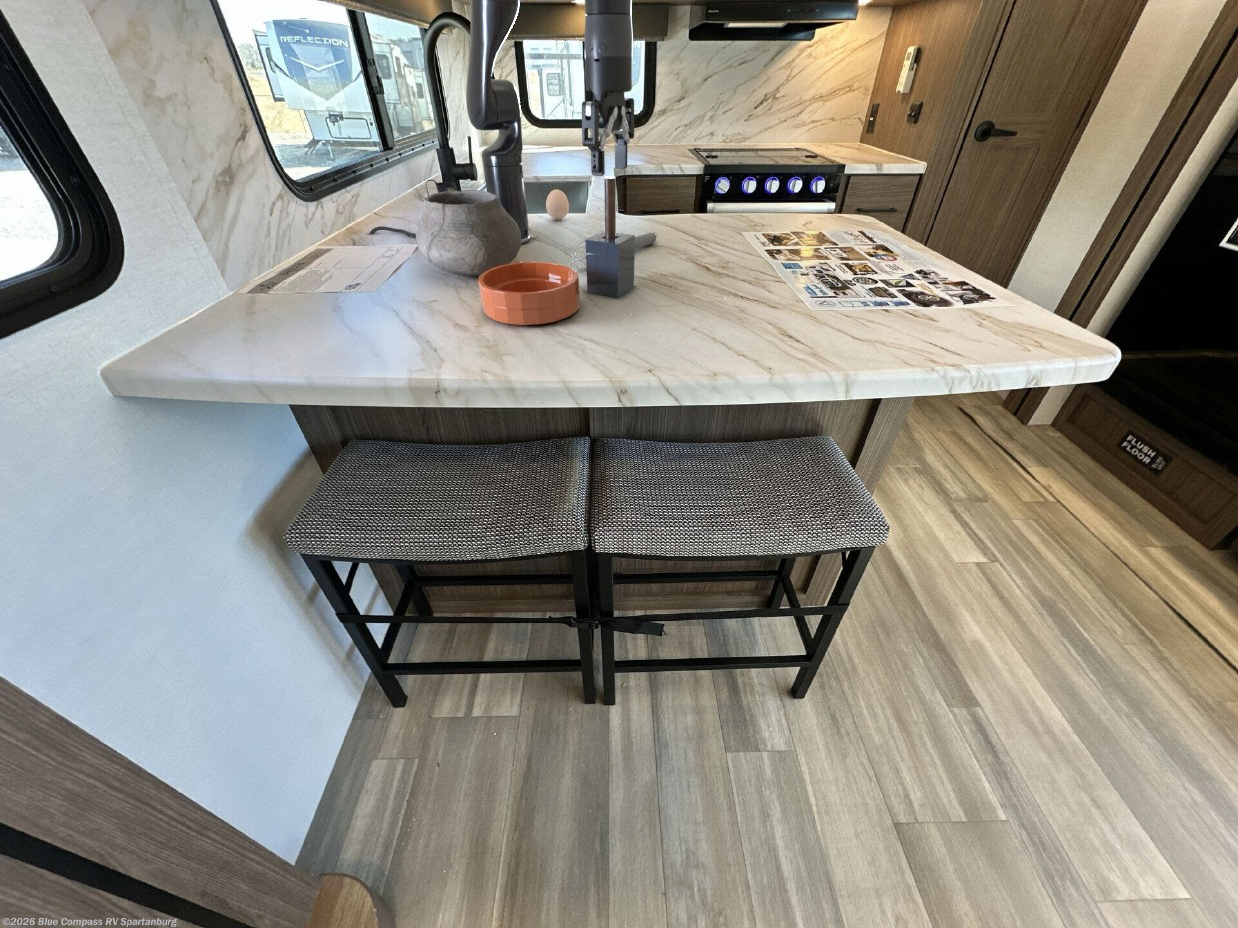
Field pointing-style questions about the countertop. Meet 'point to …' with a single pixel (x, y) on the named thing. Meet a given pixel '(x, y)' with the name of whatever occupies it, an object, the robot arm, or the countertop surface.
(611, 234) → the stirring stick
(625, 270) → the block
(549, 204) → the egg
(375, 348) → the countertop surface
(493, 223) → the clay pot
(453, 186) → the mug
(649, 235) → the kitchen whisk
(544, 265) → the bowl
